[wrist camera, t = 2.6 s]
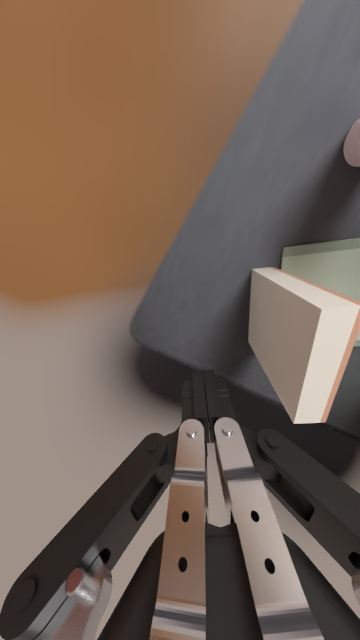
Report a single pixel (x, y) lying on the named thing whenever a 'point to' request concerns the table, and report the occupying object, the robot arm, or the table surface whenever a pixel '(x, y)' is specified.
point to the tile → (301, 340)
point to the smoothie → (353, 145)
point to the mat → (327, 266)
